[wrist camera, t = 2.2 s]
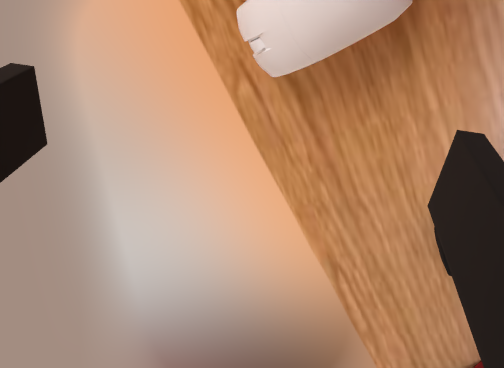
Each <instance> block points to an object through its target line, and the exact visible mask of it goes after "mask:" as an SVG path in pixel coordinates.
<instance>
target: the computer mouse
mask: <svg viewBox="0 0 504 368" xmlns="http://www.w3.org/2000/svg"><path fill="white" fill-rule="evenodd" d="M412 2H413V0H247V1H246V2H244V3H243V4H242V5H241V6H240V7H239V8H238V9H237V12H236V13H237V20H238V27H239V31H240V33H241V35H242V37H243V39H244V41H248V42H249V44H250V47H251V48H252V50H253V51H254V54H253V55H252V56H253V57H254V59H255V60H256V62H257V63H258V65H259V66H260V67H261V68H262V69H263V70H264V71H266V72H267V73H268V74H269V75H270V76H272V77H279V76H282V75H286V74H289V73H291V72H294V71H297V70H299V69H303V68H305V67H308V66H310V65H312V64H314V63H316V62H319V61H321V60H323V59H325V58H327V57H329V56H331V55H333V54H335V53H337V52H338V51H340V50H342V49H344V48H346V47H348V46H350V45H352V44H354V43H355V42H357V41H359V40H361V39H363V38H365V37H367V36H368V35H370V34H372V33H374V32H375V31H377V30H379V29H381V28H382V27H384V26H386V25H388V24H390V23H391V22H393V21H395V20H396V19H397V18H398V17H399V16H400V15H401V14H402V13H403V12H404V11H405V10H406V9H407V8H408V7H409V6H410V5H411V4H412Z"/></svg>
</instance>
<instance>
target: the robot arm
mask: <svg viewBox="0 0 504 368" xmlns="http://www.w3.org/2000/svg"><path fill="white" fill-rule="evenodd" d="M46 145H47V139H46V133H45V127H44V121H43V116H42V110H41V104H40V99H39V92H38V86H37V81H36V75H35V69H34V66H28V65H20V64H14V63H10V64H8V65H6V66H4V67H2V68H0V182H2V181H3V180H4V179H5V178H7V177H8V176H9V175H10V174H11V173H13V172H14V171H15V170H16V169H18V168H19V167H20V166H21V165H22V164H23V163H25V162H26V161H27V160H29V159H30V158H31V157H32V156H33V155H35V154H36V153H37V152H38V151H39V150H41V149H42V148H43V147H44V146H46ZM428 208H429V211H430V214H431V217H432V220H433V223H434V226H435V229H436V231H437V234H438V237H439V240H440V243H441V246H442V249H443V252H444V254H445V257H446V260H447V263H448V266H449V269H450V272H451V275H452V278H453V280H454V283H455V286H456V289H457V292H458V295H459V298H460V301H461V304H462V306H463V309H464V312H465V315H466V318H467V321H468V324H469V327H470V329H471V332H472V335H473V338H474V341H475V344H476V347H477V350H478V353H479V355H480V358H481V361H482V364H483V367H484V368H504V161H503V160H502V159H501V157H500V156H499V154H498V153H497V152H496V150H495V149H494V148H493V146H492V145H491V143H490V142H489V141H488V139H487V138H486V136H485V135H484V134H481V133H474V132H467V131H461V130H457V132H456V134H455V137H454V140H453V142H452V145H451V147H450V150H449V152H448V155H447V158H446V160H445V163H444V165H443V168H442V170H441V173H440V176H439V178H438V181H437V183H436V186H435V188H434V191H433V194H432V196H431V199H430V201H429V204H428Z"/></svg>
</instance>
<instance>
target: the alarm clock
mask: <svg viewBox="0 0 504 368" xmlns="http://www.w3.org/2000/svg"><path fill="white" fill-rule="evenodd" d="M474 368H484V367H483V364H482V361H481V362H480V363H478V364H477V365H476V366H475V367H474Z"/></svg>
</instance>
